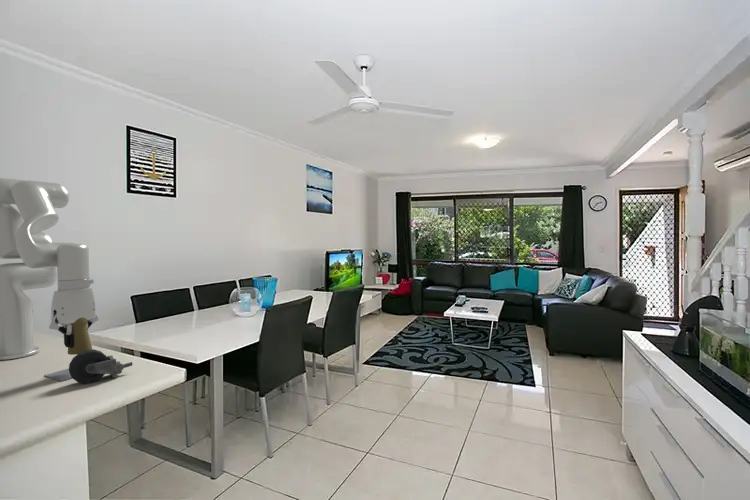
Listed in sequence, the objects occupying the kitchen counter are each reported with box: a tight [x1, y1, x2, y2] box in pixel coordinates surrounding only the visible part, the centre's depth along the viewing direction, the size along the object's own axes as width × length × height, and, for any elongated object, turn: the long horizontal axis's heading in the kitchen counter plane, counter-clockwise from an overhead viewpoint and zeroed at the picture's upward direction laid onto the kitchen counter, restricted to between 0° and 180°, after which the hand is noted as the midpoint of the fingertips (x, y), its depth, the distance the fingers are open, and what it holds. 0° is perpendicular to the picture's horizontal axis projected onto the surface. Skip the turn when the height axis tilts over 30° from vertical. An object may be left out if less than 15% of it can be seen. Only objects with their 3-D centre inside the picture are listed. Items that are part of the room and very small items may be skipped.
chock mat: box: [43, 368, 73, 382], centre depth 118 cm, size 9×11×1 cm
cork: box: [67, 318, 93, 356], centre depth 118 cm, size 6×6×11 cm
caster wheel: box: [68, 348, 133, 384], centre depth 113 cm, size 6×10×15 cm
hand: (75, 345), depth 117 cm, fingers closed on cork, 2 cm apart
